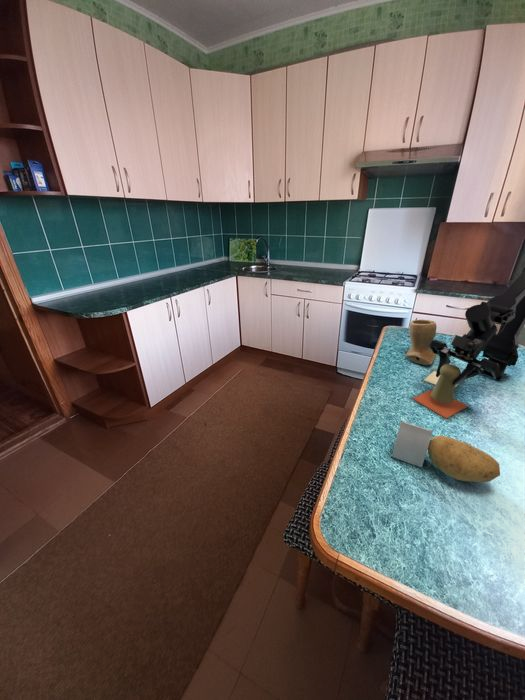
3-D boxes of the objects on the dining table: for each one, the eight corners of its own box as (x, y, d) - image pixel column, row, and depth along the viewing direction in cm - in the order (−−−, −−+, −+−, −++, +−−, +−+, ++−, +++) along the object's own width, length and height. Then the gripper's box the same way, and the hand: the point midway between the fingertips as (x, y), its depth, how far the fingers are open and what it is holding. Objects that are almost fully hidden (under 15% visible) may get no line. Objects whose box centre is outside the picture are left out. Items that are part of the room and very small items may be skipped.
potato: (490, 504, 61) (504, 478, 57) (418, 471, 69) (426, 446, 65) (493, 473, 68) (506, 448, 64) (427, 446, 75) (435, 422, 72)
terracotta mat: (433, 389, 98) (433, 388, 98) (467, 406, 89) (467, 405, 89) (412, 399, 93) (412, 398, 93) (446, 419, 85) (446, 418, 84)
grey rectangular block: (421, 467, 69) (432, 436, 65) (391, 456, 73) (399, 426, 68) (423, 457, 72) (433, 426, 68) (394, 447, 75) (401, 417, 71)
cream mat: (433, 371, 108) (434, 370, 107) (461, 381, 101) (461, 380, 101) (423, 380, 102) (423, 379, 102) (451, 391, 96) (451, 390, 96)
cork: (458, 401, 88) (469, 370, 83) (440, 404, 87) (450, 373, 82) (443, 390, 93) (452, 360, 88) (426, 392, 92) (435, 362, 87)
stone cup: (407, 346, 126) (415, 313, 120) (438, 353, 120) (448, 319, 113) (397, 359, 116) (404, 324, 109) (429, 368, 109) (440, 332, 102)
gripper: (439, 315, 88) (408, 356, 89) (510, 337, 74) (473, 385, 74) (448, 332, 95) (419, 370, 96) (514, 356, 81) (480, 400, 81)
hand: (444, 380), depth 87 cm, fingers closed on cork, 5 cm apart
